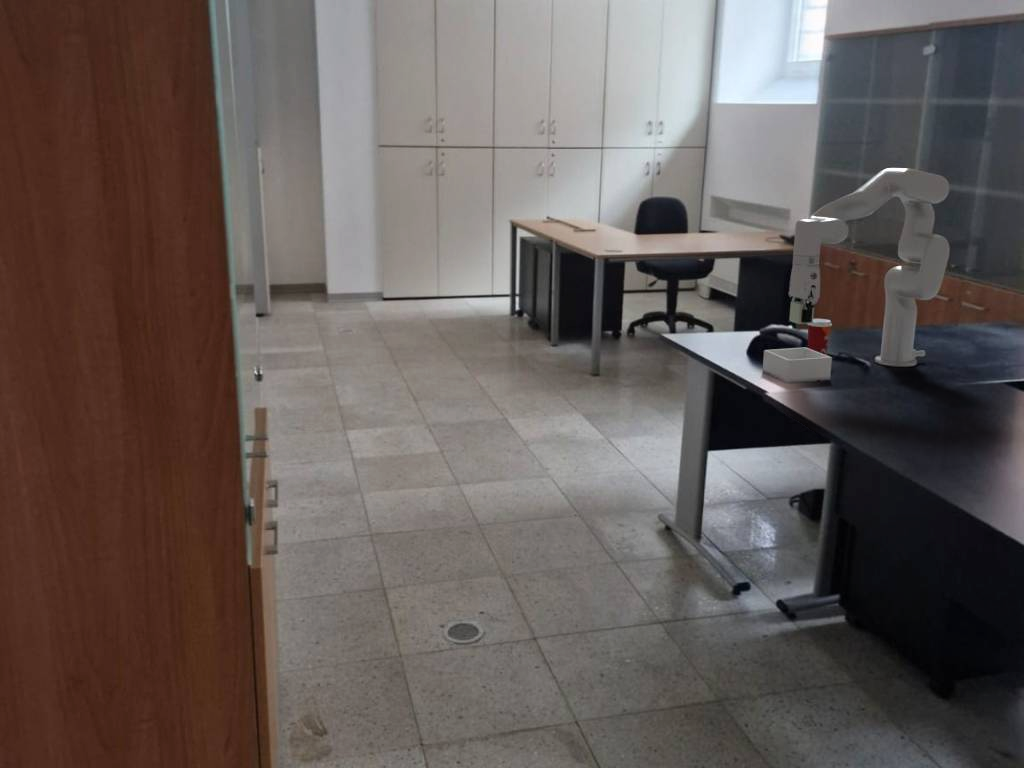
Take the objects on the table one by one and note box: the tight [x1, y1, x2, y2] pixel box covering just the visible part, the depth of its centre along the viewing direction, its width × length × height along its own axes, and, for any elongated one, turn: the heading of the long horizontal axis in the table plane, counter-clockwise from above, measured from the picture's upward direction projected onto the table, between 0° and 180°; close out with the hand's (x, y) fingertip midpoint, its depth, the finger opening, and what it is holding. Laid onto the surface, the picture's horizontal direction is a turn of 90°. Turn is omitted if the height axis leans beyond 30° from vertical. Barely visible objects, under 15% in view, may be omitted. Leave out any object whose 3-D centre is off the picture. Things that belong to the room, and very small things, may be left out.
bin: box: [762, 346, 833, 384], centre depth 278 cm, size 15×15×7 cm
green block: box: [788, 300, 815, 325], centre depth 274 cm, size 5×5×6 cm
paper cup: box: [806, 318, 833, 356], centre depth 294 cm, size 8×8×14 cm
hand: (801, 319), depth 275 cm, fingers closed on green block, 5 cm apart
